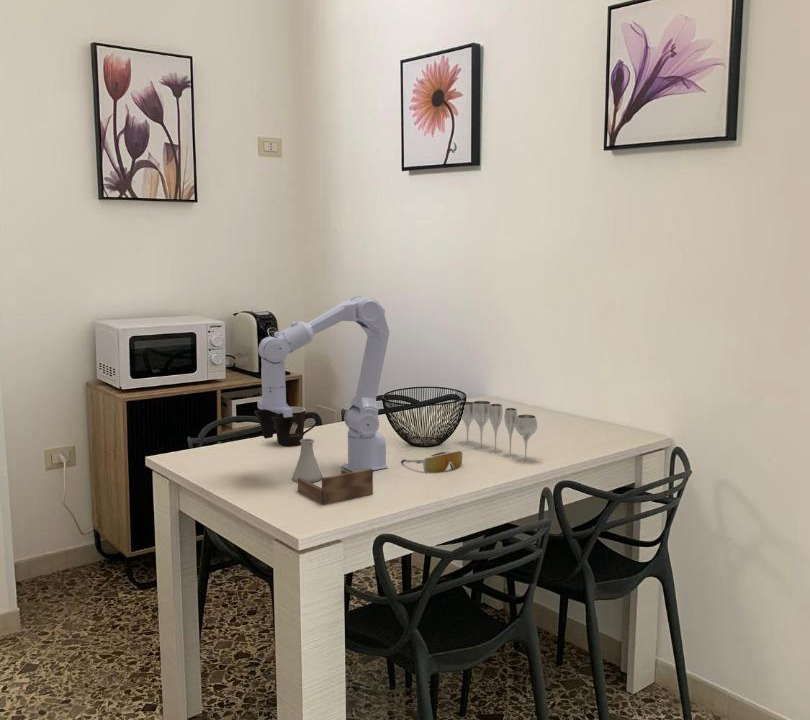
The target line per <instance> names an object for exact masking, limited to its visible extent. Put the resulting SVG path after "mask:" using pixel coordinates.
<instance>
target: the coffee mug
mask: <svg viewBox="0 0 810 720" xmlns="http://www.w3.org/2000/svg"><path fill="white" fill-rule="evenodd" d="M289 407H290V408H292V415H294V416H296V419H295V420H294V422H293V424H292V427H291V429H290V433H289V438H288V442H287V444H282V445H281V446H282V447H290V448H291V447H298V446H299V447H300V446H301V443H300V440H301V439H304V436H305V434H307V433H308V432H309V431H311V430H312V429H314V428H315V427H316V426H317V425H318V423H319V419H320V418H319V416H318V414H317V413H314V412H310V413H309V412H308V413H306V408H305V407H301V406H289ZM276 416H279V414H278V413H276ZM309 416H314V417H316V421H315V423H314V424H313V425H311V427H309V428H308V429H306V430H305V422H306V420H307V419H308V417H309ZM304 430H305V431H304Z"/></svg>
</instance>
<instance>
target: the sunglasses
mask: <svg viewBox="0 0 810 720" xmlns="http://www.w3.org/2000/svg"><path fill="white" fill-rule="evenodd" d="M400 463H407V464H409V463H415V464H422V465H423V466H422V467H423V471H424V473H443V472H447V470H448V468H449V467H450V468H451V469H452V470H457V469H458V468H460V467H461V466H462V463H463V451H462V450H455V451H448V450H446V451H445V450H444V451H440V452H436V453H434V454H431V455H430V456H428V457H425V458H423V459H406V458H403V459H401V460H400Z"/></svg>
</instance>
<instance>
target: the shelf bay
mask: <svg viewBox="0 0 810 720" xmlns="http://www.w3.org/2000/svg"><path fill="white" fill-rule="evenodd" d="M373 473H374V470H373V469H371V468H369V469H364V470H359V471H354V472H352V471H350V470H348V469H345V468H343V469H341V470H340V473H339V474H335V475H330V476H325V477H323V478H322V479H321V486H318V485H316V484H315V483H314V482H308V481H306V480H304V479H302V478H298V479H297V481H296V482H297V492H299V493H301V494H303V495H305V496H306V497H308V498H309V499H312V500H314V501H316V502H318V503H320V504H321V505H324V506H326V505H330V504H334V503H339V502H343V501H348V500H353V499H357V498H363V497H367V496H371V495H374V478H373V477H374V474H373Z"/></svg>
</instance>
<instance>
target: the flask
mask: <svg viewBox="0 0 810 720" xmlns="http://www.w3.org/2000/svg"><path fill="white" fill-rule="evenodd" d="M300 443H301V445H300V453H299V457H298V460H297V463H296V467H295V469H294V471H293V474H292V477H291V479H292V480H293V481H295V482H297V479H298V478H302V479H304V480H306V481H308V482H310V483H314V482H319V481H321V480H322V478H324V477H323V474H322V471H321V469H320V467H319V464H318V462H317V459H316V456H315V453H314V448H313V447H314V445H313V443H315V440H314V439H313V438H303V439H301V440H300Z"/></svg>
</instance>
